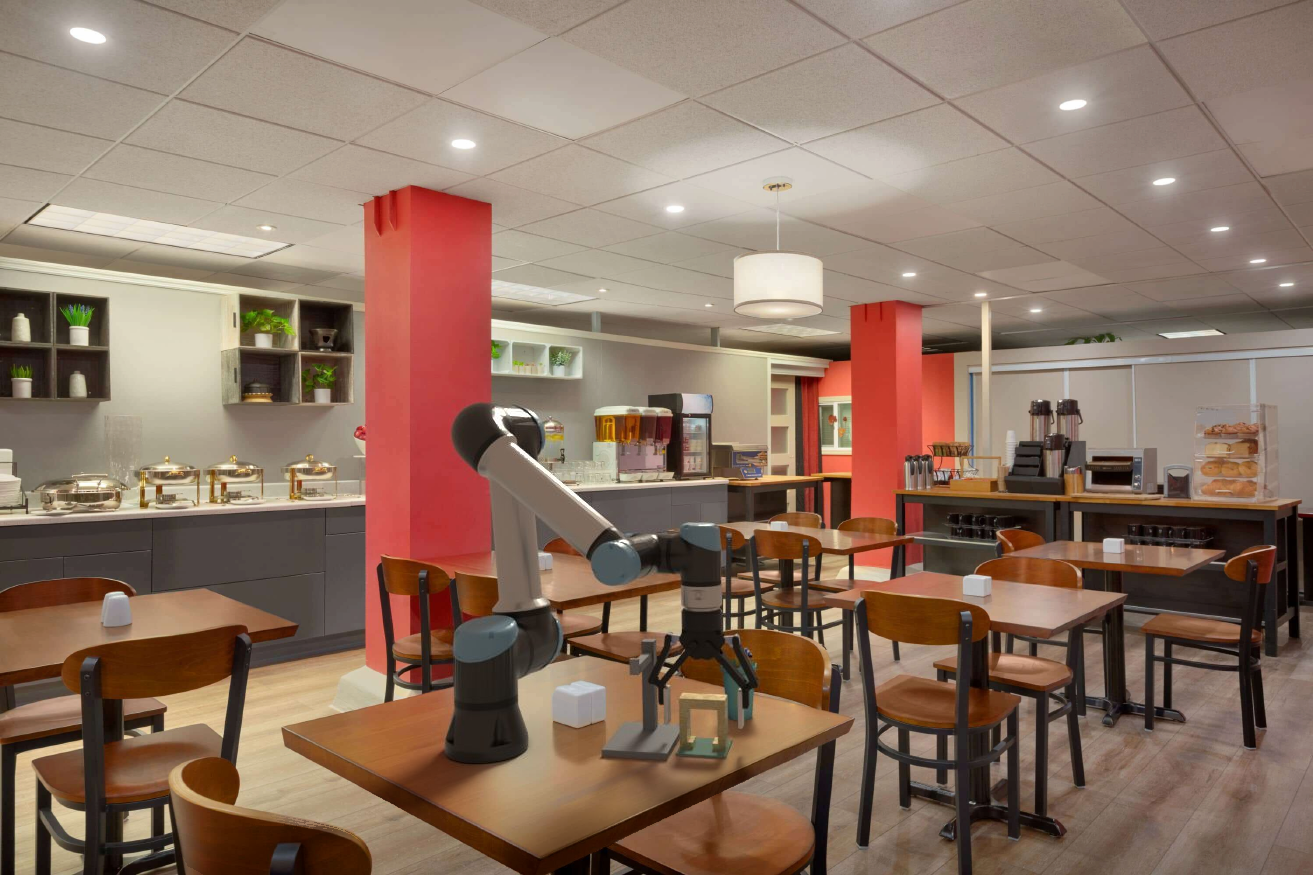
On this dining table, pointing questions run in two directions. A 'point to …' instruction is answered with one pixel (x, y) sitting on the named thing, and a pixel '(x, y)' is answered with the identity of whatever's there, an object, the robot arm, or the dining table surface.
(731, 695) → the cup
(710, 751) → the mat
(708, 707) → the c link
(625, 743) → the stand
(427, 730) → the dining table surface
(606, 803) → the dining table surface
